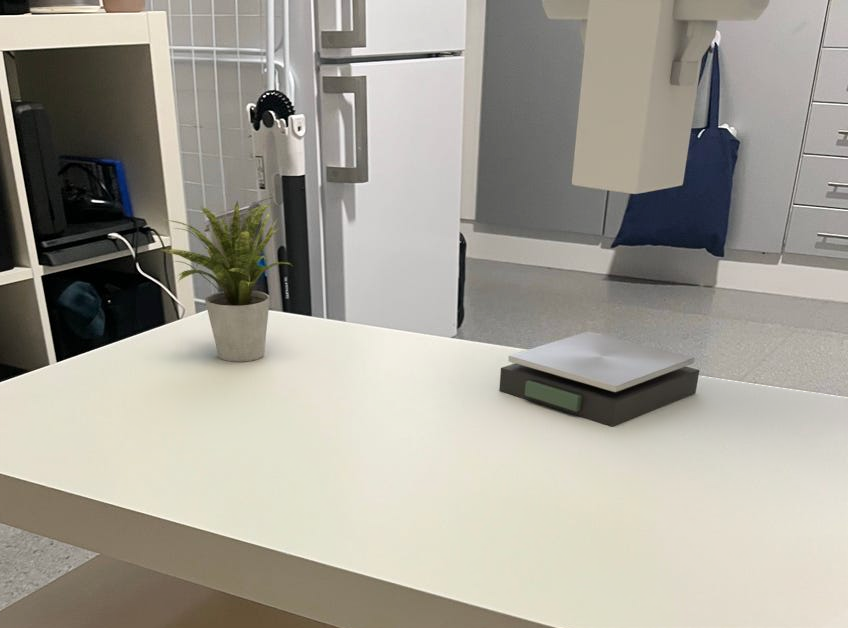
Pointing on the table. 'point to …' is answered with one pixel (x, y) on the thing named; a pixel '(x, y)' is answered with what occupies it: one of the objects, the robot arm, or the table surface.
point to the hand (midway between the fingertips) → (639, 83)
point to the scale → (598, 393)
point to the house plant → (235, 284)
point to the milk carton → (633, 98)
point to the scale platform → (601, 360)
